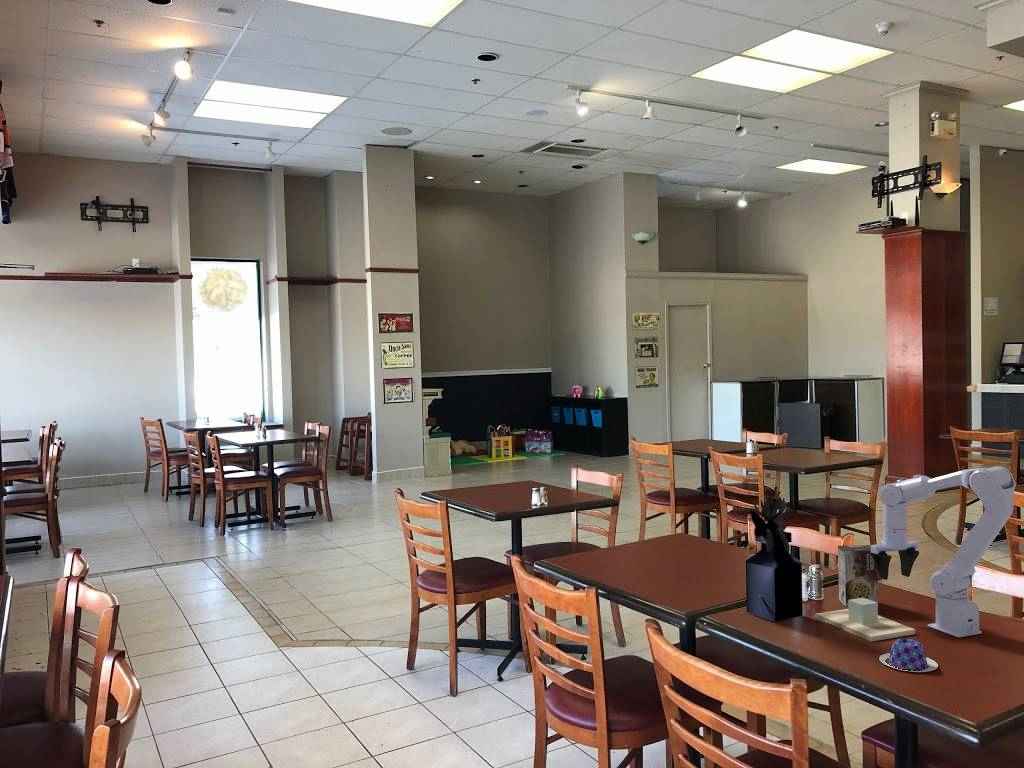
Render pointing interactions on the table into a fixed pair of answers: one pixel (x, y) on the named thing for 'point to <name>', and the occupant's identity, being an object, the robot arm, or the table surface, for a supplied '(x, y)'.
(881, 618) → the board
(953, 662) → the table surface
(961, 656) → the table surface
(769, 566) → the vase
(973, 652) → the table surface
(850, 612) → the pale green cube
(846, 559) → the coffee box
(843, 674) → the table surface
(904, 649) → the purple patterned hat
